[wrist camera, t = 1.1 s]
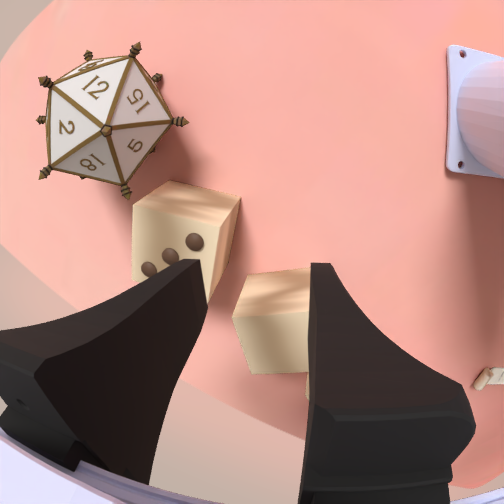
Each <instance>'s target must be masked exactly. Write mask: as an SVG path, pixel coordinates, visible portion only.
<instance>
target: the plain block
mask: <svg viewBox="0 0 504 504" xmlns="http://www.w3.org/2000/svg"><path fill="white" fill-rule="evenodd" d="M310 270H311V267H309V268H301V269H292V270H284V271H275V272H267V273H258V274H249V275H248V276H247V278H246V281H245V283H244V286H243V289H242V291H241V294H240V297H239V299H238V302H237V305H236V307H235V310H234V312H233V315H232V320H233V323H234V326H235V329H236V332H237V335H238V338H239V341H240V344H241V346H242V349H243V352H244V355H245V358H246V360H247V363H248V366H249V369H250V372H251V374H279V373H298V372H309V365H308V320H309V298H310Z"/></svg>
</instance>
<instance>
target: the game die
mask: <svg viewBox="0 0 504 504" xmlns="http://www.w3.org/2000/svg"><path fill="white" fill-rule="evenodd" d="M131 47H132V48H131V49H130V54H129V55H128V56H117V57H108V58H100V59H92V57H93V55H92V52H90V51H88V50H87V51H86V53H85V55H83V56H84V57H85V58H84V59H85V60H86V61H87V62H85V63H83V64H82V65H80V66H78V67H77V68H75V69H73V70H72V71H70V72H68V73H67V74H65V75H64V76H62V77H60V78H59V79H57V80H56V81H54V82H52V81H51V78H48V77H47V76H46V77H38V79H39V82H40V86H43V87H48V88H49V92H48V100H47V108H46V116H39V117H38V118H37V119H36V121H37V122H38V123H39V125H40V124H44V123H45V124H46V141H47V154H48V166H47V167H44V168H43V170H42V171H41V170H40V176H39V180H40V179H44V178H47V176H48V175H50V172H51V170H56V171H60V172H65V173H69V174H73V175H77V176H80V178H81V180H82V179H84V178H90V179H94V180H99V181H103V182H107V183H111V184H115V185H119V186H121V187H122V190H121V192H122V194H123V195H122V196H124V197H125V198H127V199H128V200H129V199H130V195H131V193H132V191H130V188H129V187H128V186H127V183H128V181H129V180H130V179H131V177H132V176H133V174H134V173H135V172H136V170H137V169H138V168H139V166H140V165H141V164H142V162H143V161H144V160H145V158H146V157H147V156H148V154H149V153H152V152H155V145H156V144H157V143H158V142H159V140H160V139H161V138H162V137H163V135H164V134H165V133H166V132H167V130H168V129H169V128H170V127H171V126H172V124H175V125H176V126H181V127H183V126H184V125H186V124H188V123H190V122H188V121H187V120H186V119H184V117H182V118H180V117H178V118H173V117H172V115H171V113H170V111H169V109H168V107H167V105H166V103H165V101H164V99H163V97H162V95H161V93H160V92H159V90H158V88H157V86H156V84H155V82H159V80H161V77H162V74H158V73H156V74H155V75H154V76H153V77H152V78H151V76H150V75H149V74H148V73H147V71H146V70H145V69H144V68H143V66H142V65H141V64H140V63H139V61H138V60H137V59H136V58H135V57H136V55H138V54H139V53H140V52H139V51H140V50H142V49H141V44H140V42H138V43H137V44H135V45H132V46H131Z"/></svg>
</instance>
